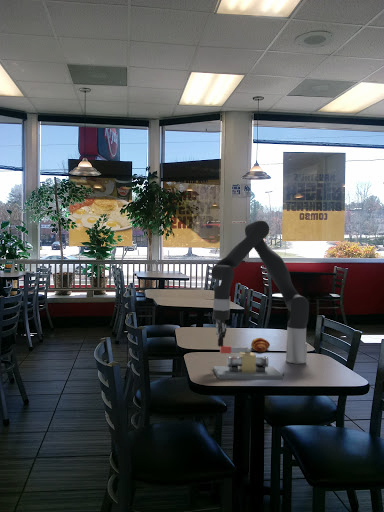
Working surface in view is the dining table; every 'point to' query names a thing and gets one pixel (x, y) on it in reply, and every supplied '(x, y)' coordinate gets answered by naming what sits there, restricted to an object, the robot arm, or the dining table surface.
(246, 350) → the lever
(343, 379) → the dining table surface
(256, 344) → the croissant
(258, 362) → the valve pipe
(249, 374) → the slate board
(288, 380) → the dining table surface
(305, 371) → the dining table surface
